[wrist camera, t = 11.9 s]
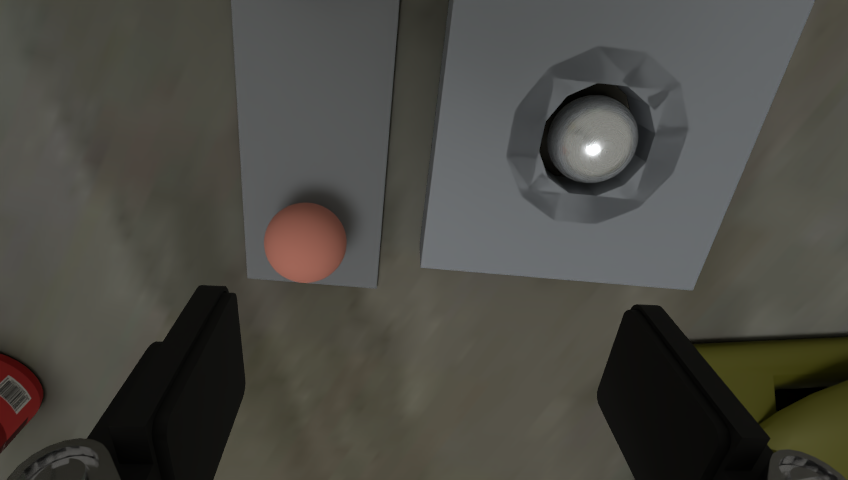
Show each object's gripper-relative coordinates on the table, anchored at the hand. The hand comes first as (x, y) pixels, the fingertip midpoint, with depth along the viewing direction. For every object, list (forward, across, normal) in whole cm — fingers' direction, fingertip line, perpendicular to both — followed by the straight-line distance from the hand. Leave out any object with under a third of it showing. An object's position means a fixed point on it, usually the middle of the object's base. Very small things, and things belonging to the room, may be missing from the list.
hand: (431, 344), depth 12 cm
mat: (+24, +6, 0) cm, 25 cm away
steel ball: (+21, -12, 0) cm, 24 cm away
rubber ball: (+21, +6, +9) cm, 23 cm away
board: (+23, -12, 0) cm, 26 cm away
